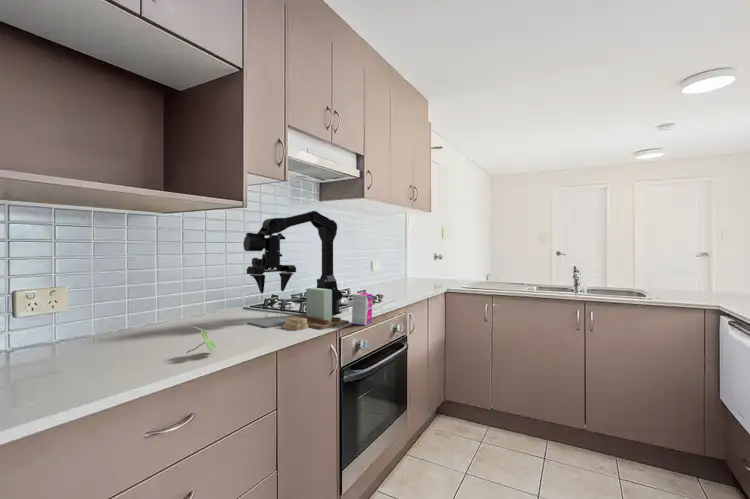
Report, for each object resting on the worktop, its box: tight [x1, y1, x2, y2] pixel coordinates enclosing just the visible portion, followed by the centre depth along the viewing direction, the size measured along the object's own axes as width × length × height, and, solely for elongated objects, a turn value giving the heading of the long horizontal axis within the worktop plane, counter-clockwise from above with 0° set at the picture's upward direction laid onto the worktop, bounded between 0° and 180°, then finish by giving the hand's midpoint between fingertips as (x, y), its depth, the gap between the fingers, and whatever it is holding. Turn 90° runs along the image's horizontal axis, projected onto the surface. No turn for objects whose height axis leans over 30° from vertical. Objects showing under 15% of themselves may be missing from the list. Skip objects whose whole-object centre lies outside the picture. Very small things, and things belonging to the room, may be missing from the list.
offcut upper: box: [284, 316, 307, 326], centre depth 137 cm, size 4×7×2 cm, turn 51°
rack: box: [297, 314, 350, 330], centre depth 146 cm, size 14×18×2 cm
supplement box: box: [351, 292, 373, 327], centre depth 143 cm, size 6×6×12 cm
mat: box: [247, 316, 286, 329], centre depth 146 cm, size 14×12×1 cm
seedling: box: [185, 328, 217, 354], centre depth 105 cm, size 7×8×7 cm
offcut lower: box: [282, 324, 310, 332], centre depth 137 cm, size 5×8×2 cm, turn 50°
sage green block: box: [305, 287, 333, 322], centre depth 146 cm, size 4×10×12 cm, turn 50°
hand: (272, 292), depth 146 cm, fingers open, 9 cm apart
